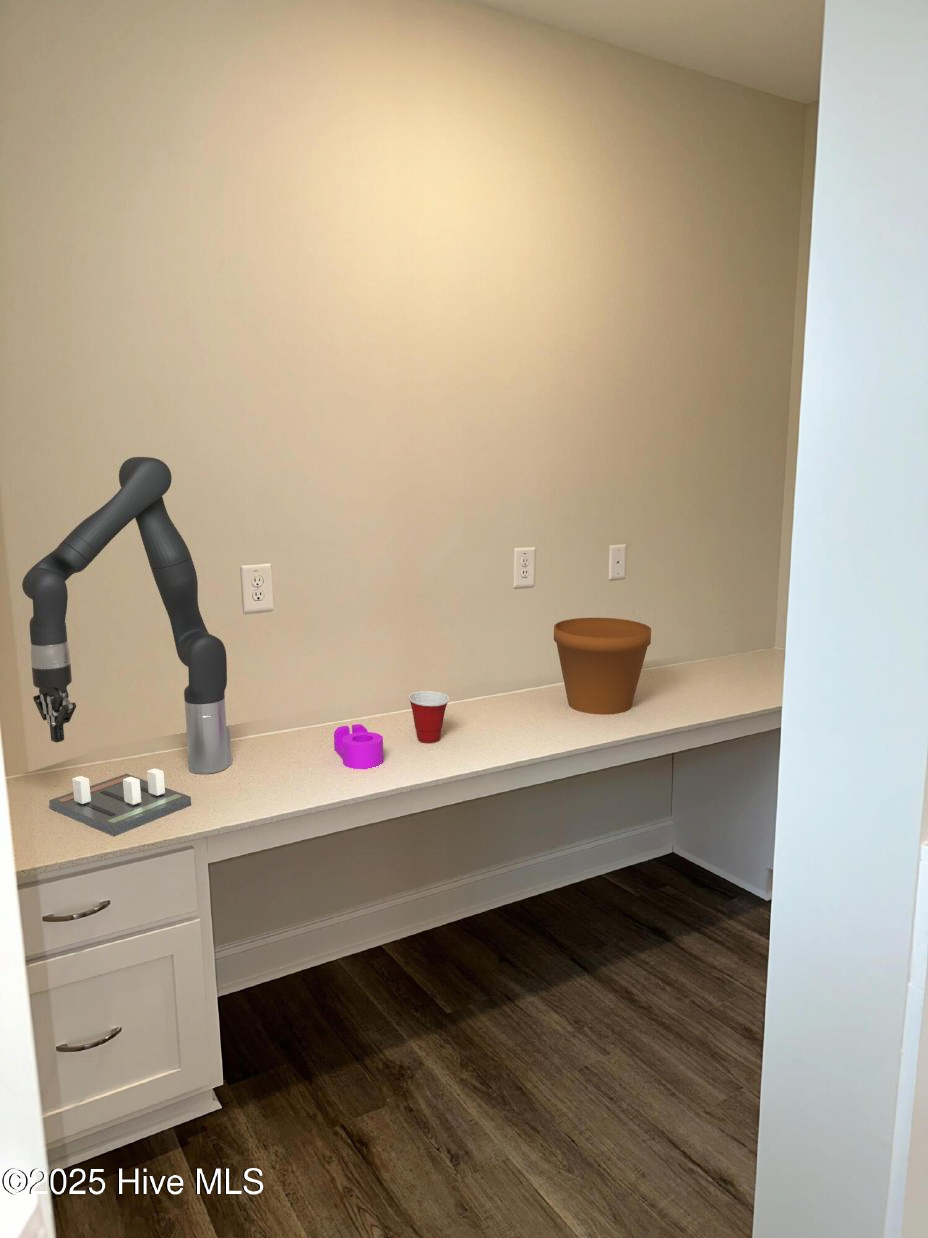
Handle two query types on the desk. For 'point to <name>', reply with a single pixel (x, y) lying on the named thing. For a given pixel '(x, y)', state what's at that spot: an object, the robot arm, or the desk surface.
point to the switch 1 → (81, 789)
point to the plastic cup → (428, 714)
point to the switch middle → (132, 790)
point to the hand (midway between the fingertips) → (57, 741)
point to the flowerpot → (601, 662)
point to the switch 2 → (155, 781)
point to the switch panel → (119, 806)
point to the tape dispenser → (358, 747)
